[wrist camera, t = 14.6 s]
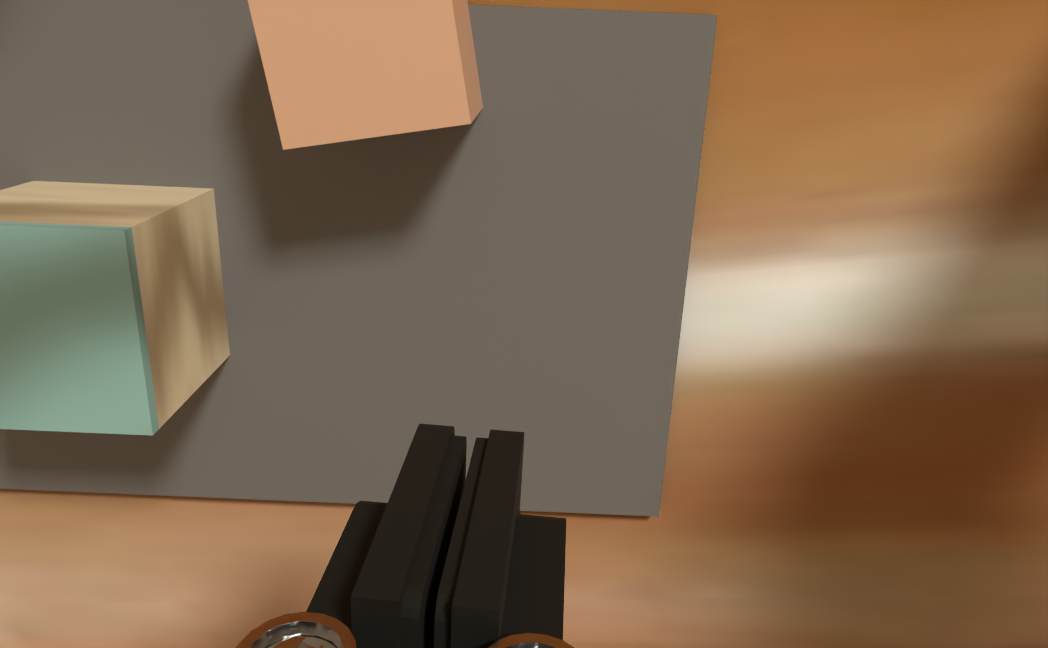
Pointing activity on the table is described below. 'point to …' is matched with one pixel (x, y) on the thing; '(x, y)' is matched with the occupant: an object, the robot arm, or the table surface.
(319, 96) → the terracotta block
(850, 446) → the table surface
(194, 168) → the mat
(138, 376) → the maple block
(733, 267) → the table surface
